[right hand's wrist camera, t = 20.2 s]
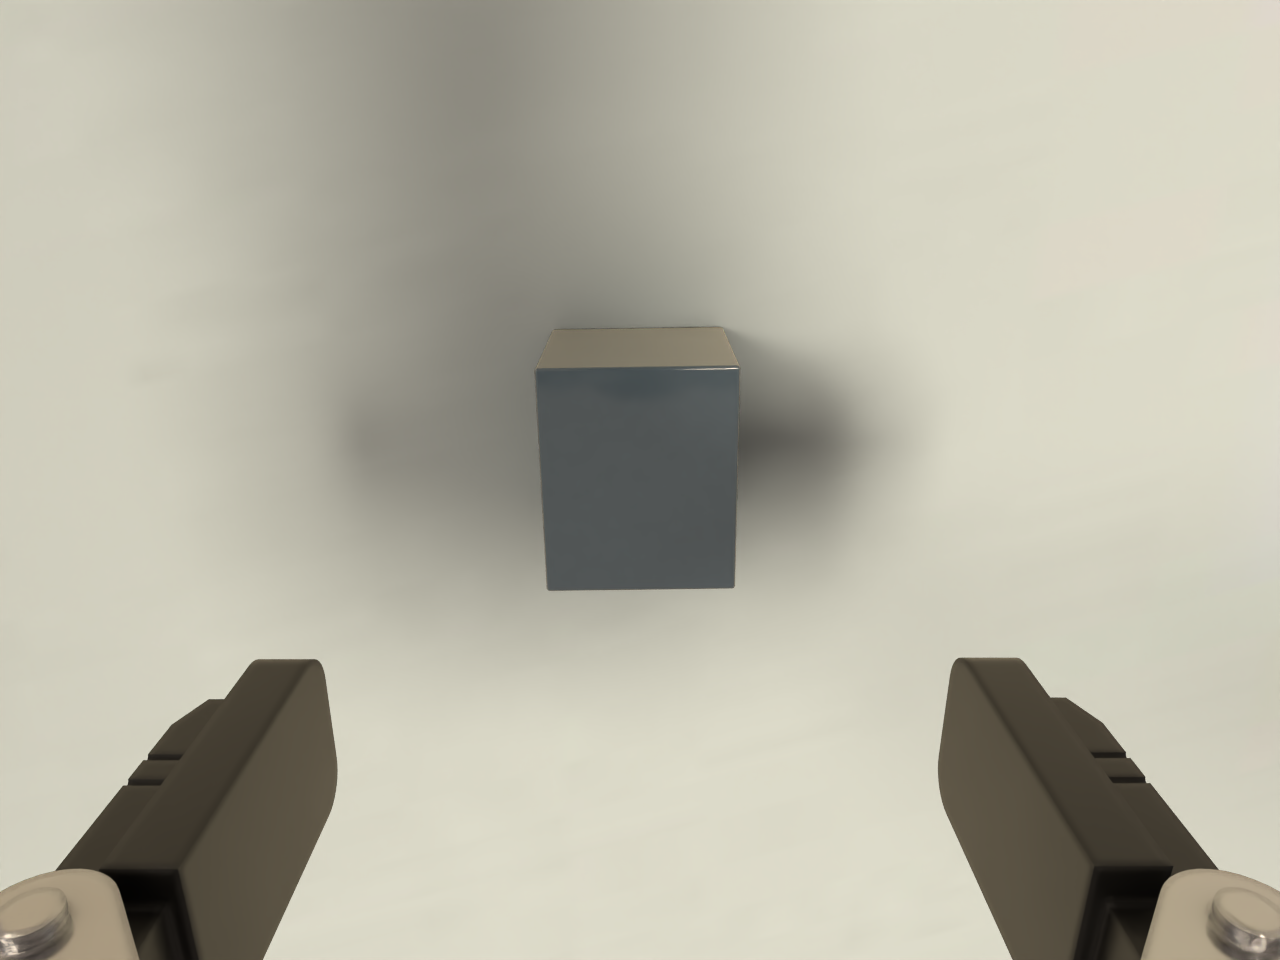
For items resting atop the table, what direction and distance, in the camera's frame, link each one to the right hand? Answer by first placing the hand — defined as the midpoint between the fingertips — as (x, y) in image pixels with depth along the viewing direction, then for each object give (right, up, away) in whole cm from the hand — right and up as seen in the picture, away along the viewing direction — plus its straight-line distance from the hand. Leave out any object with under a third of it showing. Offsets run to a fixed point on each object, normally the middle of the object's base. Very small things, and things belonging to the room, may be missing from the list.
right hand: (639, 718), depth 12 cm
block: (0, +4, +12) cm, 12 cm away
